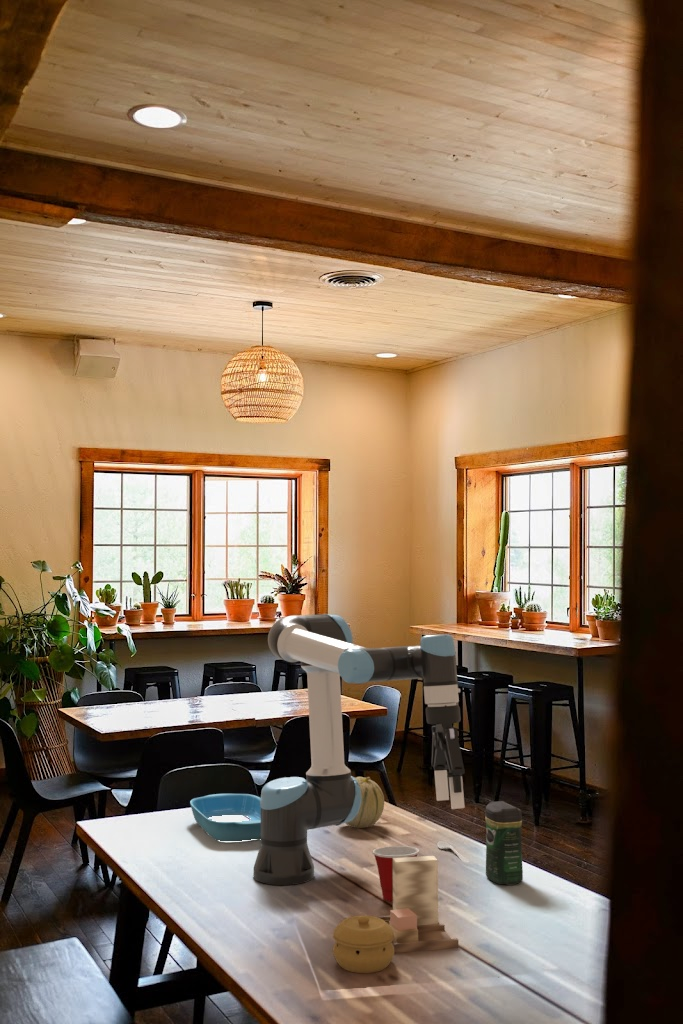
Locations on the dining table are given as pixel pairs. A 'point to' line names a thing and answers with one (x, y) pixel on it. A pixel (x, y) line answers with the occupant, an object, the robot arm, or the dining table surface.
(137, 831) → the dining table surface
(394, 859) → the birch block
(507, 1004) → the dining table surface
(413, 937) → the offcut oak
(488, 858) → the coffee jar
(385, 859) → the plastic cup
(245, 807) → the casserole dish
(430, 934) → the rack
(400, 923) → the offcut terracotta
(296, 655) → the robot arm
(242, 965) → the dining table surface
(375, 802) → the cantaloupe
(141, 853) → the dining table surface
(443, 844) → the spoon
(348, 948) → the pot
